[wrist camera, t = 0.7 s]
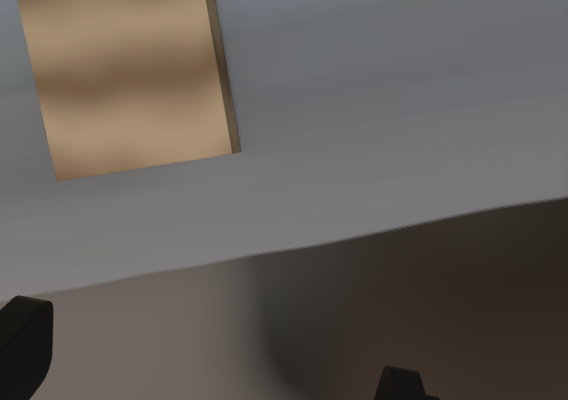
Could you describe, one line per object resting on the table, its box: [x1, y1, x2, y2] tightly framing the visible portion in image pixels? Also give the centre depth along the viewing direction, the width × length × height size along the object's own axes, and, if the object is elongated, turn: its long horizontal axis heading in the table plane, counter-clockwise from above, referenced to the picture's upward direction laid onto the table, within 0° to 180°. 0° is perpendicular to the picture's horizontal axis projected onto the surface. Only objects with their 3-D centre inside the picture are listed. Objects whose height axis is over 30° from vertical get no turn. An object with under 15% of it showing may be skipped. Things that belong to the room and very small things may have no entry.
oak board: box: [18, 0, 241, 181], centre depth 32 cm, size 12×12×2 cm
